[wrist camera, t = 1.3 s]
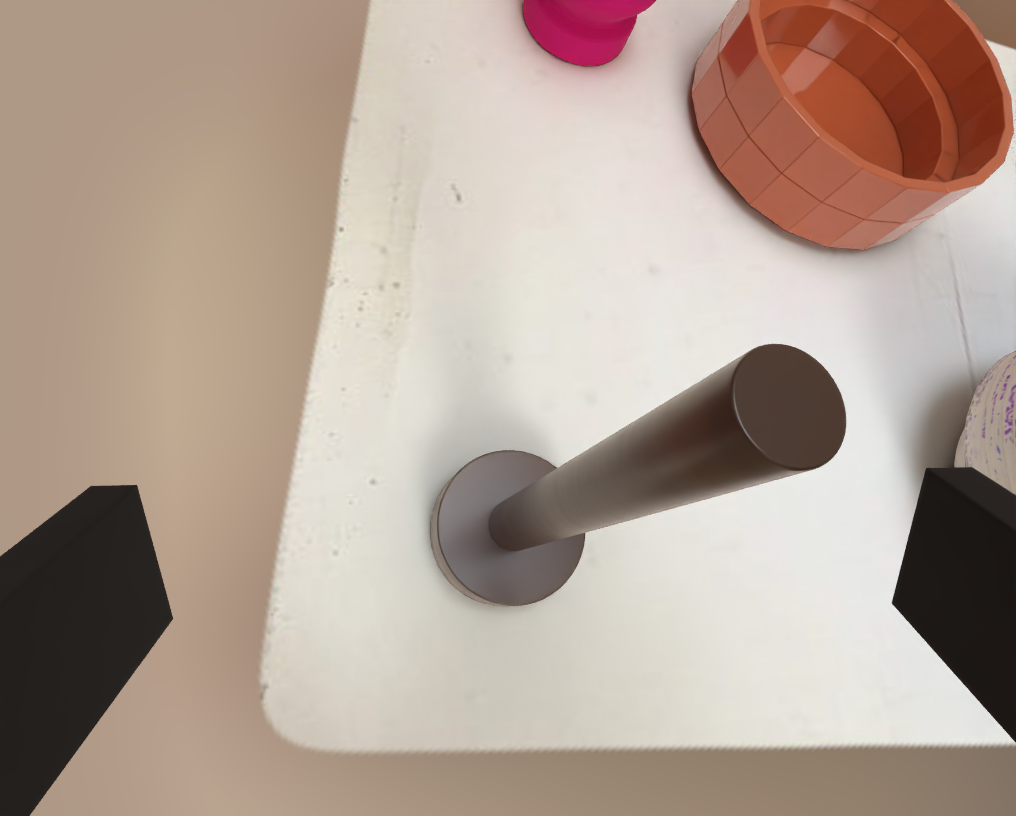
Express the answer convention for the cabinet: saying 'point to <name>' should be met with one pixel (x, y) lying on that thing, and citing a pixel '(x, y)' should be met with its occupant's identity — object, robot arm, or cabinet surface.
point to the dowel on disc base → (634, 474)
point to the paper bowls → (992, 426)
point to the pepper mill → (583, 27)
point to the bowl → (852, 113)
